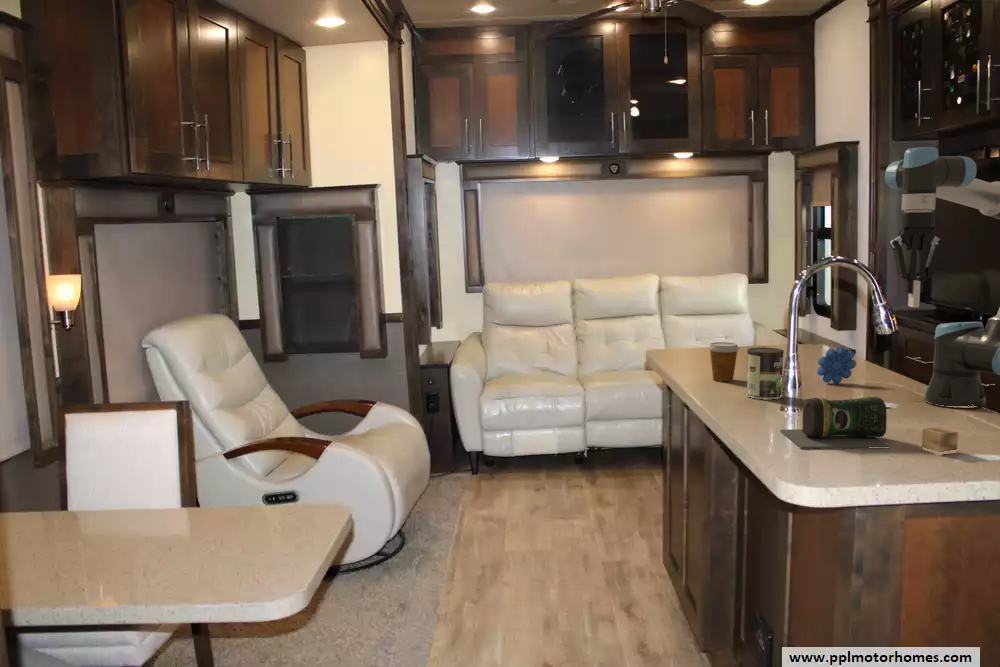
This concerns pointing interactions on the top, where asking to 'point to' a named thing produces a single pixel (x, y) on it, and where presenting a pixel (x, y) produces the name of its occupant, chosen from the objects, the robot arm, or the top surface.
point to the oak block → (939, 439)
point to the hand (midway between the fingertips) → (913, 306)
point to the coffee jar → (844, 417)
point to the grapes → (836, 365)
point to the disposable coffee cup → (723, 360)
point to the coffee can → (764, 373)
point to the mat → (831, 440)
